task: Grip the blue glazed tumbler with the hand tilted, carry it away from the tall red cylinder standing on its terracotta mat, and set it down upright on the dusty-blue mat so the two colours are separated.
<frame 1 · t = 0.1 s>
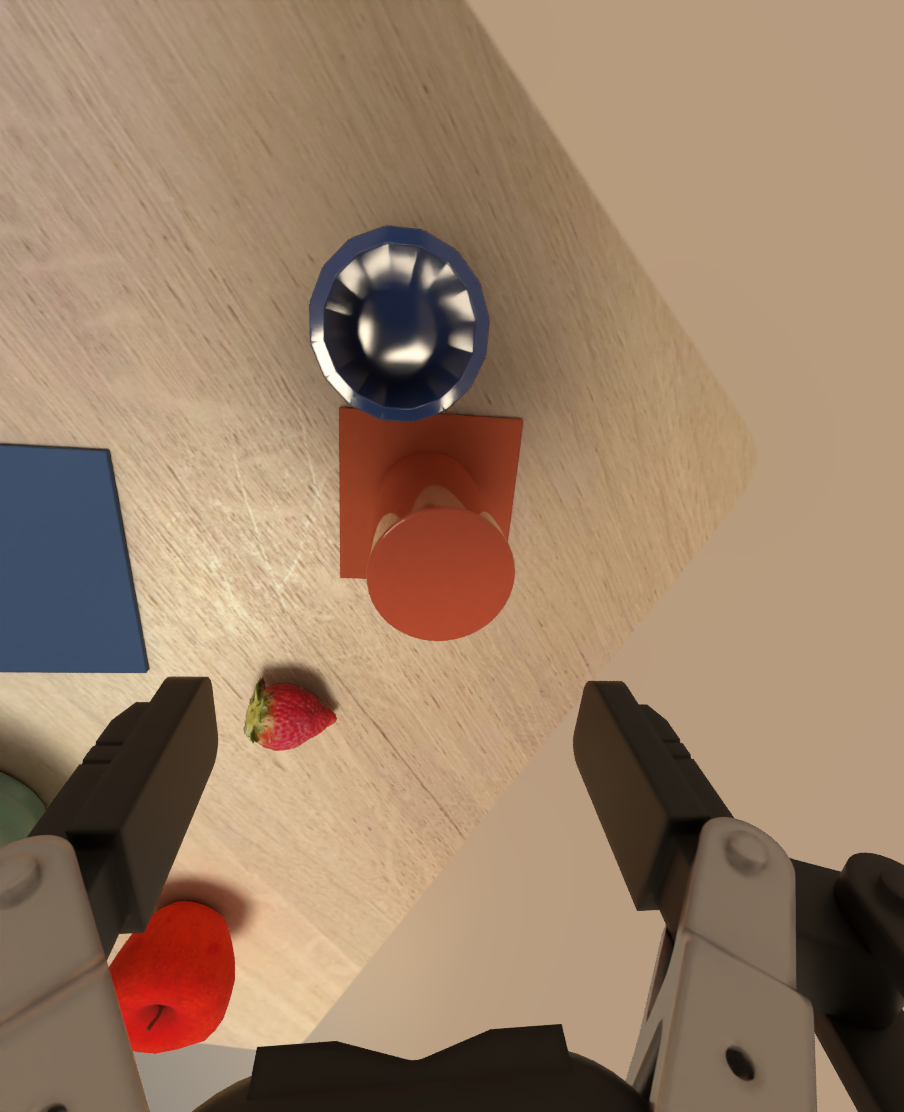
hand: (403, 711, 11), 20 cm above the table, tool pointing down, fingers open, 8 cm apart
apple: (194, 911, 43), on the table
fruit: (296, 693, 35), on the table
tall red cylinder: (427, 502, 30), resting on red mat
red mat: (427, 500, 30), on the table
blue cup: (398, 330, 27), on the table
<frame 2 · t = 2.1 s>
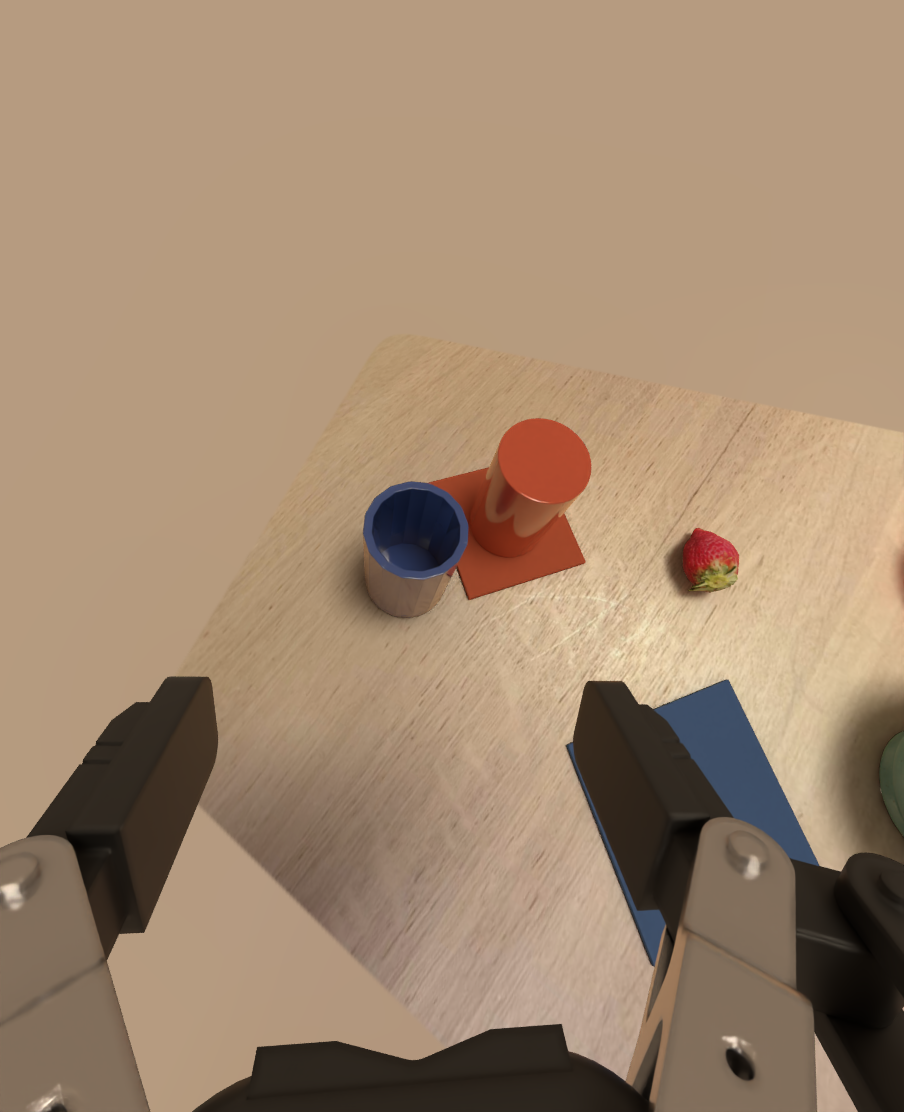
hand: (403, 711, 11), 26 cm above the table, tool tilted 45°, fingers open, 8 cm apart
fruit: (691, 567, 43), on the table
blue mat: (692, 808, 37), on the table
tall red cylinder: (506, 522, 41), resting on red mat
red mat: (504, 524, 42), on the table
blue cup: (405, 578, 39), on the table
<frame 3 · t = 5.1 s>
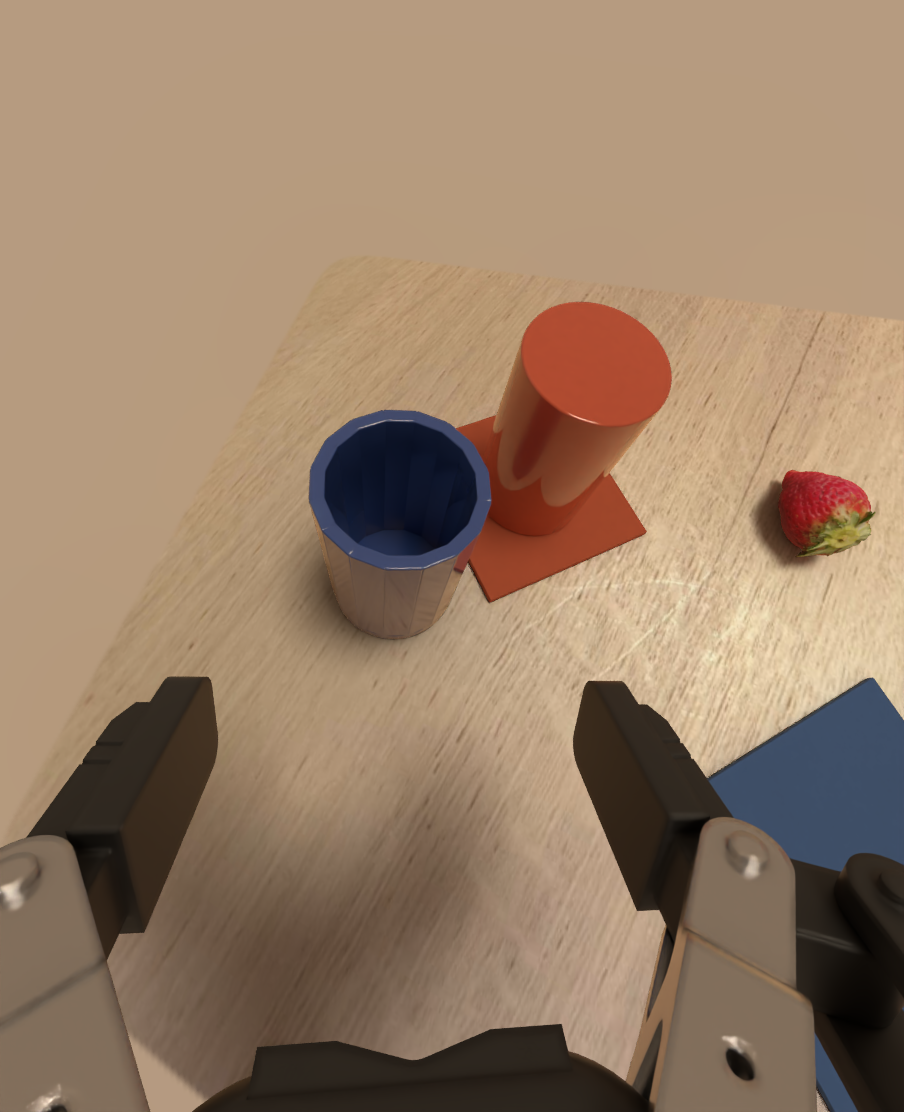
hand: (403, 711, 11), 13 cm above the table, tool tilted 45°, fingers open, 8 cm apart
fruit: (788, 525, 31), on the table
blue mat: (863, 882, 24), on the table
tall red cylinder: (528, 487, 29), resting on red mat
red mat: (526, 490, 29), on the table
blue cup: (394, 581, 26), on the table
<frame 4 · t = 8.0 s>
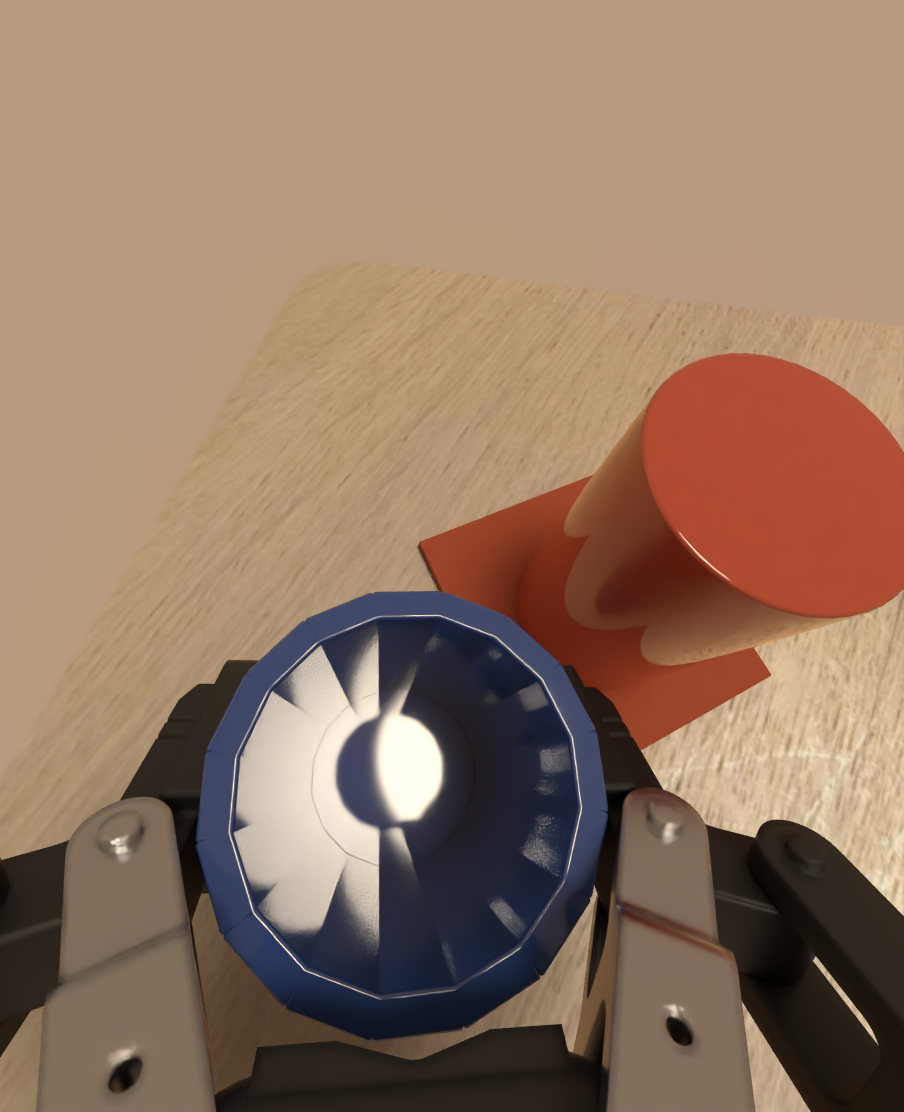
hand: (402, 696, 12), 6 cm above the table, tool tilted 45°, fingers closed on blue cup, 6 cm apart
tall red cylinder: (594, 608, 20), resting on red mat
red mat: (590, 611, 20), on the table
blue cup: (394, 772, 17), on the table, touching gripper
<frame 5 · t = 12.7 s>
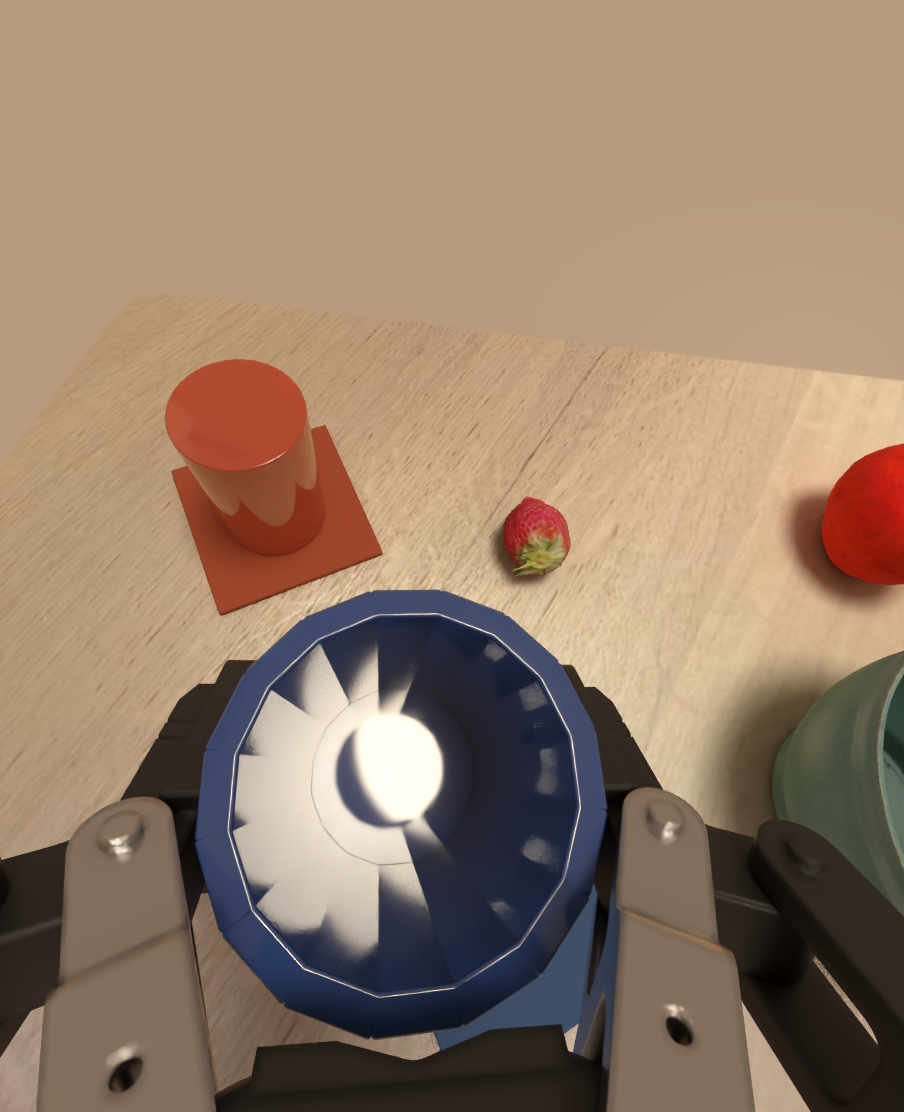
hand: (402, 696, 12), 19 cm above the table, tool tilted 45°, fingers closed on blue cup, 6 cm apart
apple: (842, 546, 38), on the table
fruit: (526, 546, 34), on the table
blue mat: (522, 864, 27), on the table
tall red cylinder: (276, 511, 32), resting on red mat
red mat: (277, 514, 33), on the table
blue cup: (393, 771, 17), point 12 cm above the table, touching gripper
flower pot: (840, 803, 31), on the table
when the fingers open (7 cm above the table, at t = 17.6 s): blue cup stays where it is, resting on blue mat.
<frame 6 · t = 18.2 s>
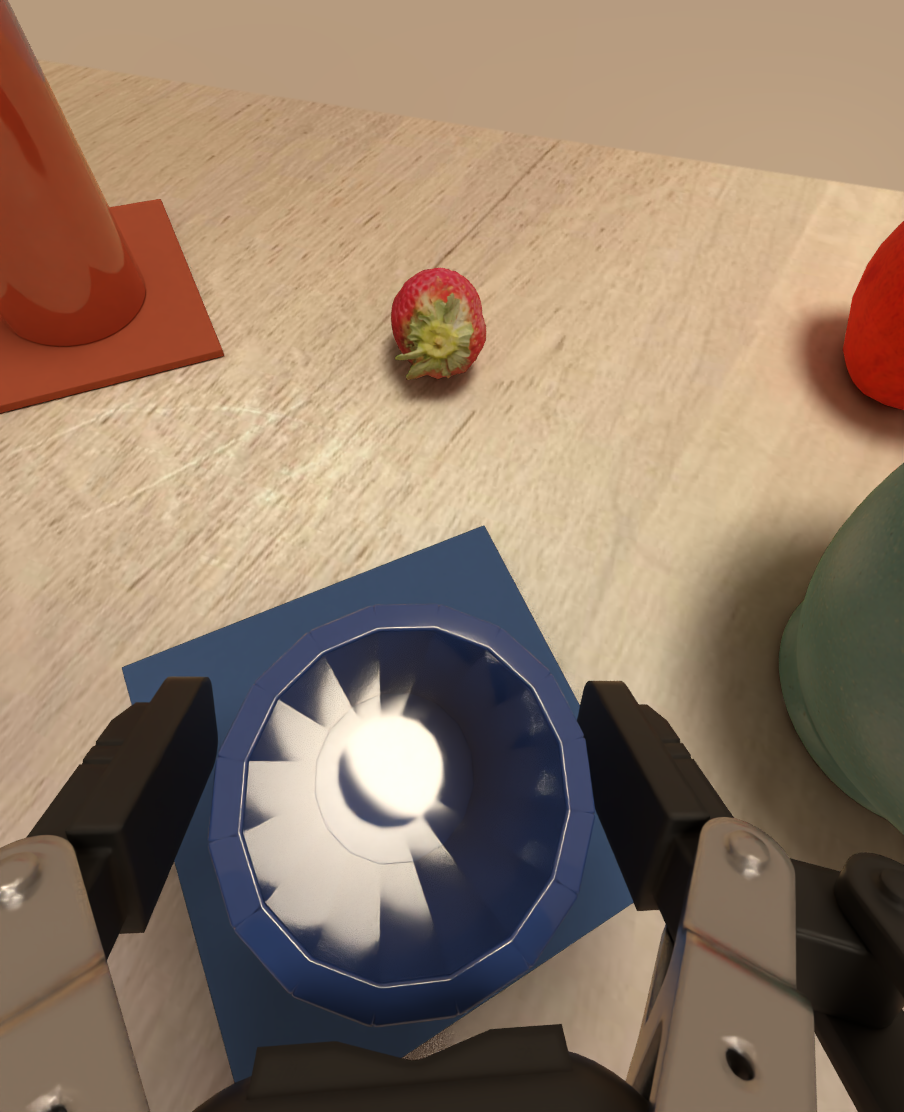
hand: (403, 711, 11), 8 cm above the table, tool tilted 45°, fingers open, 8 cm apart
apple: (871, 376, 28), on the table
fruit: (434, 357, 25), on the table
blue mat: (394, 771, 18), on the table
tall red cylinder: (72, 293, 23), resting on red mat
red mat: (77, 301, 23), on the table
blue cup: (395, 773, 17), resting on blue mat
flower pot: (879, 696, 21), on the table
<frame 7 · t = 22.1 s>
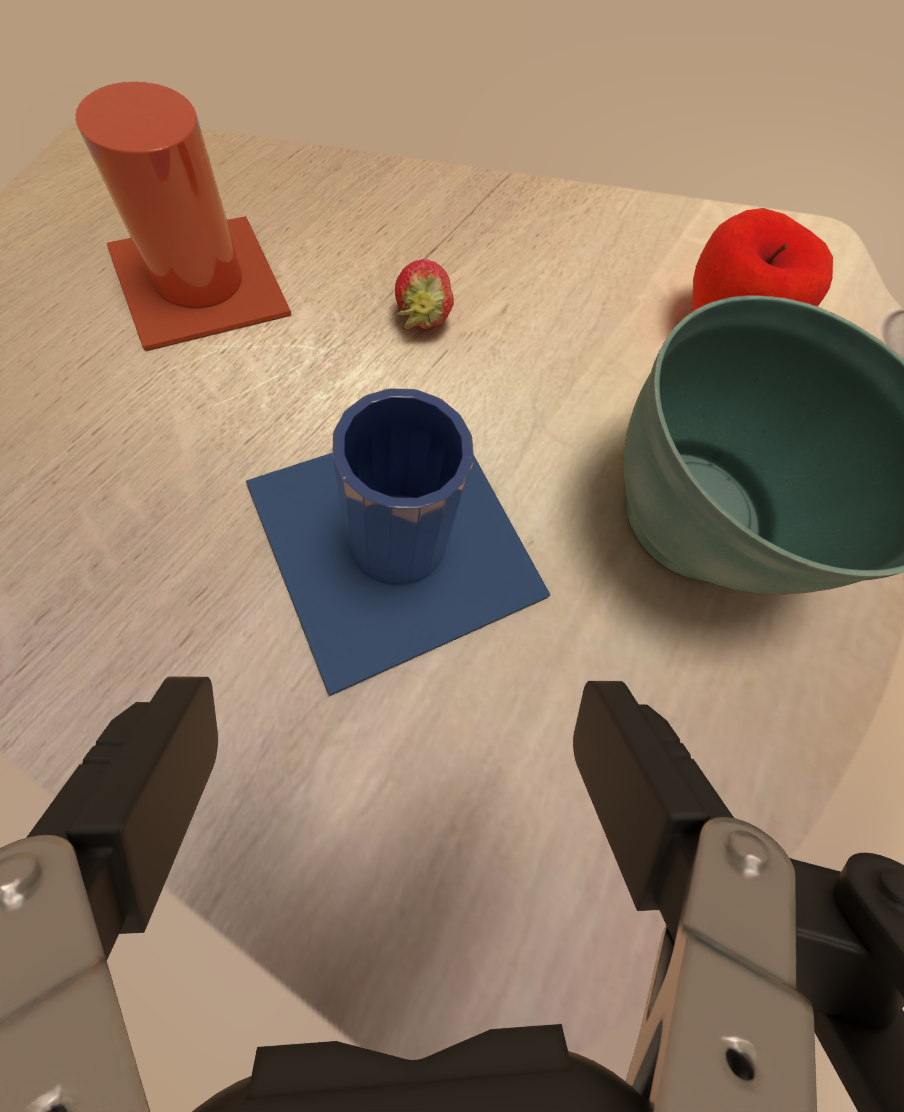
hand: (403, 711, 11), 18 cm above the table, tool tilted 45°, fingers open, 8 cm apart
apple: (715, 333, 42), on the table
fruit: (422, 317, 39), on the table
blue mat: (397, 540, 32), on the table
tall red cylinder: (198, 276, 37), resting on red mat
red mat: (199, 281, 37), on the table
blue cup: (397, 538, 31), resting on blue mat
flower pot: (690, 517, 35), on the table
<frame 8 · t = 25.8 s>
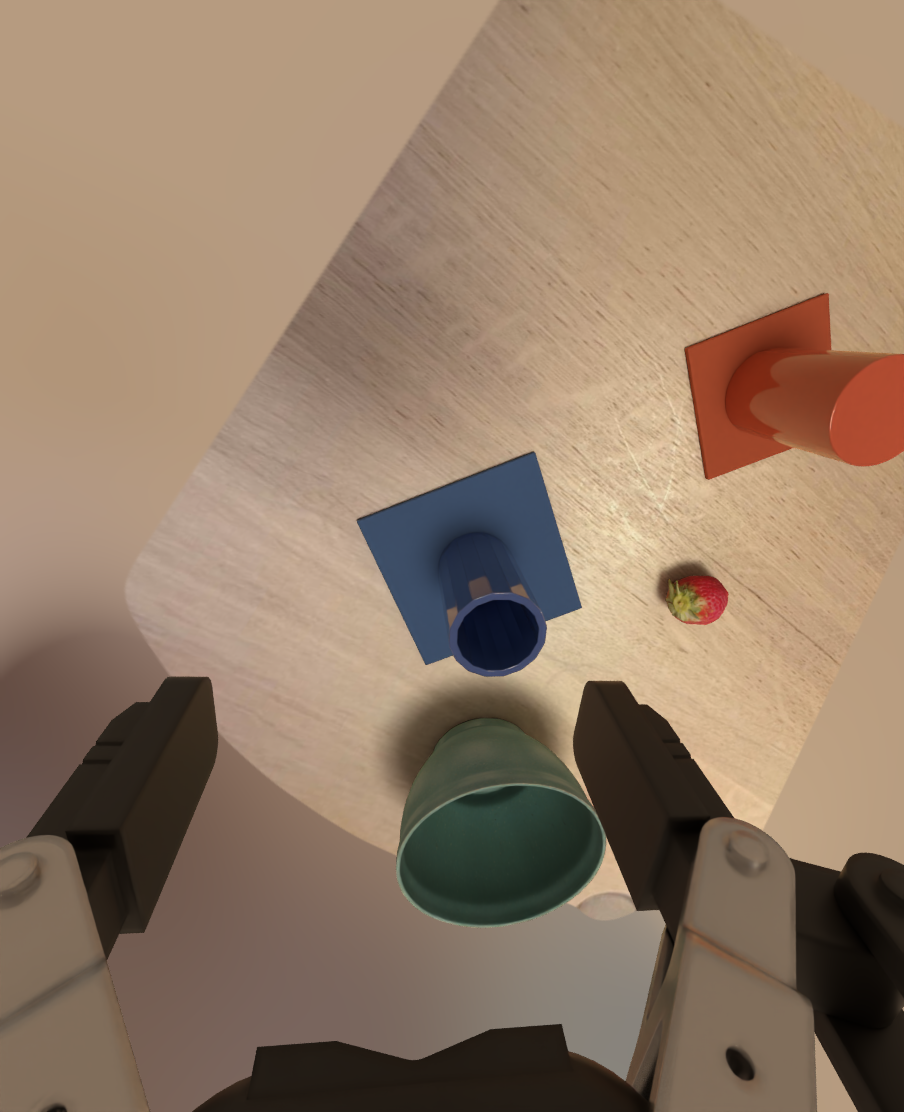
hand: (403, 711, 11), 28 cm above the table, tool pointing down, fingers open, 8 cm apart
fruit: (685, 586, 44), on the table
blue mat: (475, 565, 41), on the table
tall red cylinder: (764, 392, 38), resting on red mat
red mat: (761, 391, 38), on the table
blue cup: (475, 567, 41), resting on blue mat
flower pot: (481, 754, 49), on the table
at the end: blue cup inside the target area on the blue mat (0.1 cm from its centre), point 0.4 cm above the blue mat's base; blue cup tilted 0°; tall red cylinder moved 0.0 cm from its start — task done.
